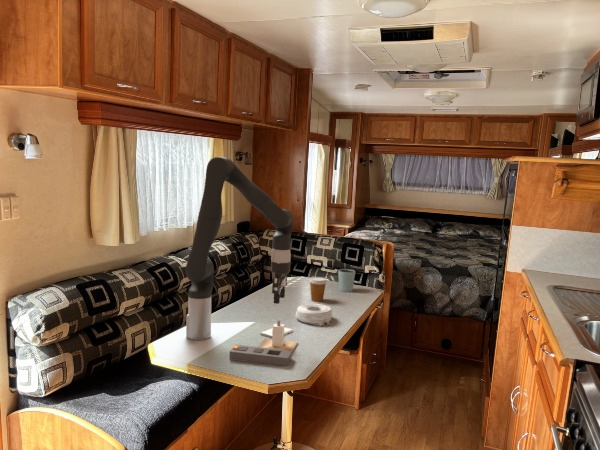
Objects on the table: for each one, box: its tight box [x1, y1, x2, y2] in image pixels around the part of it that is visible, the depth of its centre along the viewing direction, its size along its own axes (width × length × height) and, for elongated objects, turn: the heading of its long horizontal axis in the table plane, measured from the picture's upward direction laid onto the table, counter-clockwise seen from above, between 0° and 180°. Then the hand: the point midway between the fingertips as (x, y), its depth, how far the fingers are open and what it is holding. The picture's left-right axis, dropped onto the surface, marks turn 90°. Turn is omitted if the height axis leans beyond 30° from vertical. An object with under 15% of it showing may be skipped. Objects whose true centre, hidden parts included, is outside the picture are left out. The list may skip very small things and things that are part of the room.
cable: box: [295, 303, 333, 326], centre depth 220 cm, size 18×18×6 cm
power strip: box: [229, 344, 293, 367], centre depth 171 cm, size 22×7×4 cm, turn 78°
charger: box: [271, 319, 285, 347], centre depth 184 cm, size 4×4×10 cm
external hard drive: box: [259, 327, 294, 339], centre depth 200 cm, size 2×8×12 cm
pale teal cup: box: [337, 268, 356, 293], centre depth 276 cm, size 10×10×12 cm
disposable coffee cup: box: [308, 276, 327, 303], centre depth 252 cm, size 10×10×12 cm
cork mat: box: [257, 338, 299, 353], centre depth 185 cm, size 14×10×1 cm
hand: (279, 300), depth 183 cm, fingers open, 8 cm apart
